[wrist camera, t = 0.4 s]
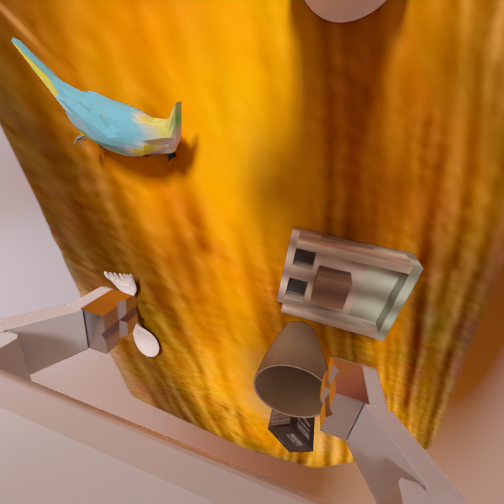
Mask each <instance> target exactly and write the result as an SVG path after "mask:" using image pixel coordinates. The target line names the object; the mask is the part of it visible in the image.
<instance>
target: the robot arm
mask: <svg viewBox="0 0 504 504" xmlns="http://www.w3.org/2000/svg"><path fill="white" fill-rule="evenodd" d="M304 1H305V2H306V4H307V5H308V6H309V8H310V9H311V10H312V11H313V12H314V13H315V14H317V15H318V16H319V17H321V18H323V19H325V20H328V21H332V22H341V23H342V22H350V21H354V20H357V19H360V18H362V17H364V16H366V15H368V14H370V13H371V12H373V11H374V10H376V9H377V8H378V7H380V6H381V5H382V4H383V3H384V2H385V1H386V0H304ZM136 306H137V298H136V297H135V296H133V295H130V294H127V293H124V292H121V291H118V290H114V289H111V288H108V287H99V288H98V289H96V290H94V291H92V292H91V293H89V294H87V295H86V296H84V297H82V298H81V299H79V300H77V301H75V302H74V303H72V304H70V305H61V306H57V307H52V308H48V309H43V310H38V311H34V312H29V313H25V314H20V315H16V316H11V317H7V318H2V319H0V504H331V503H328V502H325V501H323V500H321V499H318V498H316V497H314V496H311V495H309V494H306V493H304V492H301V491H299V490H296V489H294V488H292V487H289V486H287V485H284V484H282V483H279V482H277V481H275V480H271V479H269V478H267V477H265V476H262V475H260V474H257V473H255V472H252V471H250V470H247V469H245V468H243V467H240V466H238V465H235V464H233V463H230V462H228V461H225V460H223V459H221V458H218V457H216V456H213V455H211V454H208V453H206V452H204V451H201V450H199V449H196V448H194V447H191V446H188V445H186V444H184V443H181V442H179V441H177V440H174V439H172V438H169V437H167V436H164V435H162V434H159V433H157V432H155V431H152V430H150V429H147V428H145V427H142V426H140V425H137V424H135V423H133V422H130V421H128V420H125V419H123V418H120V417H118V416H115V415H113V414H110V413H108V412H105V411H103V410H101V409H98V408H96V407H93V406H91V405H89V404H86V403H84V402H81V401H79V400H76V399H74V398H71V397H69V396H67V395H64V394H62V393H59V392H57V391H54V390H52V389H49V388H47V387H45V386H42V385H40V384H37V383H35V382H32V381H31V378H30V374H33V373H35V372H37V371H40V370H42V369H44V368H46V367H48V366H51V365H53V364H55V363H57V362H60V361H62V360H64V359H67V358H69V357H71V356H73V355H76V354H78V353H80V352H82V351H85V350H87V349H88V348H91V349H94V350H97V351H100V352H103V353H106V354H107V353H109V352H110V351H111V350H112V349H113V348H114V347H115V346H116V345H117V344H118V343H120V338H121V337H123V336H126V335H128V334H129V333H130V332H131V331H132V330H133V329H134V327H135V325H136V324H137V320H138V313H137V311H136V310H135V307H136ZM320 400H321V402H322V403H323V406H322V408H321V411H320V431H323V432H326V433H328V434H331V435H333V436H336V437H338V438H341V439H343V440H346V443H347V445H348V447H349V449H350V451H351V453H352V455H353V457H354V459H355V461H356V463H357V465H358V467H359V469H360V471H361V473H362V475H363V477H364V479H365V481H366V482H367V485H368V486H369V488H370V491H371V492H372V495H373V497H374V499H375V500H376V502H377V504H468V503H467V501H466V499H465V498H464V497H463V496H462V494H461V493H460V492H459V491H458V490H457V488H456V487H455V486H454V485H453V484H452V483H451V481H450V480H449V479H448V478H447V477H446V475H445V474H444V473H443V472H442V471H441V469H440V468H439V467H438V466H437V465H436V464H435V462H434V461H433V460H432V459H431V458H430V456H429V455H428V454H427V453H426V451H425V450H424V449H423V448H422V447H421V446H420V444H419V443H418V442H417V441H416V440H415V438H414V437H413V436H412V435H411V434H410V432H409V431H408V430H407V429H406V428H405V426H404V425H403V424H402V423H401V422H400V420H399V419H398V418H397V417H396V416H395V414H394V413H392V412H390V411H388V409H387V405H386V401H385V398H384V394H383V390H382V387H381V383H380V379H379V376H378V372H377V370H376V369H375V368H372V367H369V366H365V365H362V364H357V363H354V362H351V361H347V360H344V359H341V358H337V357H334V356H331V358H330V360H329V363H328V371H327V372H325V374H324V377H323V380H322V385H321V393H320Z"/></svg>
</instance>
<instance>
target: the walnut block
mask: <svg viewBox="0 0 504 504" xmlns="http://www.w3.org/2000/svg"><path fill="white" fill-rule="evenodd" d="M351 287H352V278H351V273H350V272H346V271H342V270H338V269H334V268H330V267H325V266H321V265H319V267H318V270H317V273H316V277H315V280H314V283H313V287H312V291H311V300H310V301H311V302H315V303H318V304H322V305H326V306H330V307H333V308H337V309H341V310H342V309H343V307H344V304H345V302H346V299H347V297H348V294H349V292H350V289H351Z"/></svg>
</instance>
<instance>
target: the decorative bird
mask: <svg viewBox="0 0 504 504" xmlns="http://www.w3.org/2000/svg"><path fill="white" fill-rule="evenodd" d="M12 42H13V44H14V45H15V46H16V48H17V49H18V50H19V51H20V53H21V54H22V55H23V57H24V58H25V59H26V60H27V62H28V63H29V64H30V66H31V67H32V68H33V69H34V71H35V72H36V73H37V75H38V76H39V77H40V78H41V80H42V81H43V82H44V83H45V85H46V86H47V87H48V89H49V90H50V91H51V92H52V94H53V95H54V96H55V98H56V99H57V100H58V101H59V103H60V104H61V105H62V107H63V108H64V109H65V111H66V113H67V115H68V117H69V119H70V120H71V121H72V123H73V124H74V126H75V127H76V128H77V129H79V131H80V134H81V135H80V136H78V137H76V139H75V141H74V145H75V144H76V141H77V139H78V140H79V142H80V143H81V145H82V146H83V144H82V142H81V141H80V139H83V140H86V139H85V138H87V139H89V140H91V141H93V142H95V143H97V144H99V145H101V146H102V147H104V148H105V149H107V150H110V151H112V152H115V153H118V154H121V155H125V156H130V157H146V156H150V155H156V154H167V155H168V161H169V160H171V159H172V158H174V157H176V153H175V151H176V148H177V146H178V143H179V142H180V140H181V101H180V102H177V103H175V106H174V108H173V110H172V112H171V114H170V116H169V118H168V119H159V118H152V117H150V116H149V115H147V114H146V113H144V112H142V111H140V110H139V109H136V108H134V107H132V106H129V105H127V104H124V103H121V102H118V101H114V100H111V99H109V98H107V97H105V96H102V95H100V94H98V93H96V92H92V91H87V90H86V92H83V91H80V90H78V89H76V88H74V87H72V86H70V85H68V84H66V83H65V82H63V81H62V80H60V79H59V78H58V77H57V76H56V75H55V74H54V73H53V72H52V71H51V70H50V69H49V68H48V67H47V66H45V65H44V64H43V63H42V62H41V61H40V60H39V59H38V58H37V57H36V56H35V55H34V54H33V53H32V52H31V51H30V50H29V49H28V48H27V47H26V46H25V45H24V44H23V43H22V42H21V41H20V40H18V39H16V38H13V39H12ZM83 137H85V138H83Z"/></svg>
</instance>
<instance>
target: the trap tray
mask: <svg viewBox="0 0 504 504" xmlns="http://www.w3.org/2000/svg"><path fill="white" fill-rule="evenodd" d="M319 265H321V266H325V267H330V268H334V269H338V270H342V271H346V272H350V273H351V278H352V287H351V289H350V292H349V294H348V297H347V299H346V302H345V304H344V307H343V309H342V310H341V309H337V308H333V307H330V306H326V305H322V304H318V303H315V302H311V301H310V300H311V291H312V287H313V283H314V280H315V277H316V273H317V270H318V267H319ZM422 271H423V268H422V266H421V264H420V263H419V261H418V260H417V258H416V256H415V255H414V253H409V252H405V251H400V250H396V249H391V248H386V247H382V246H377V245H373V244H368V243H363V242H359V241H354V240H350V239H345V238H340V237H336V236H331V235H327V234H322V233H317V232H313V231H308V230H304V229H299V228H294V227H293V230H292V233H291V237H290V242H289V246H288V251H287V256H286V260H285V265H284V269H283V274H282V279H281V283H280V288H279V292H278V297H277V301H278V302H281V303H283V305H282V309H281V312H283V313H286V314H290V315H293V316H297V317H301V318H304V319H308V320H311V321H315V322H318V323H322V324H325V325H329V326H332V327H336V328H339V329H343V330H347V331H350V332H354V333H357V334H361V335H364V336H368V337H371V338H375V339H378V340H382V341H384V339H385V337H386V335H387V333H388V332H389V330H390V328H391V326H392V324H393V323H394V321H395V319H396V317H397V315H398V314H399V312H400V310H401V308H402V307H403V305H404V303H405V301H406V299H407V298H408V296H409V294H410V292H411V290H412V289H413V287H414V285H415V283H416V281H417V280H418V278H419V276H420V274H421V272H422Z"/></svg>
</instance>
